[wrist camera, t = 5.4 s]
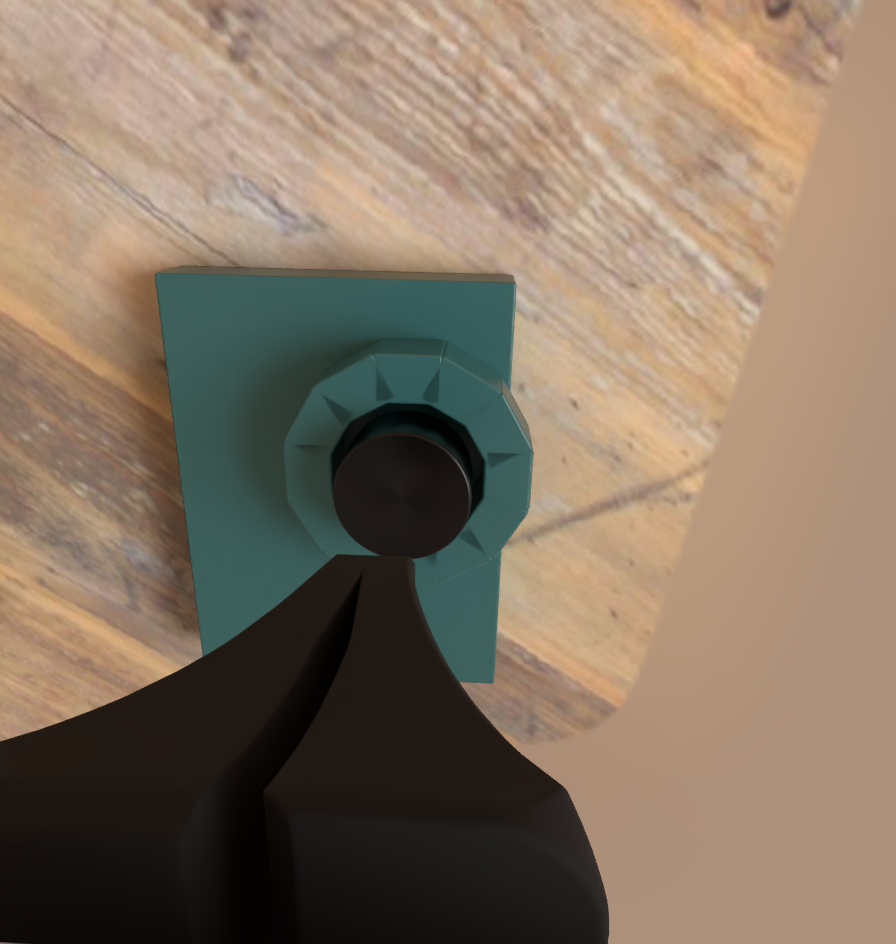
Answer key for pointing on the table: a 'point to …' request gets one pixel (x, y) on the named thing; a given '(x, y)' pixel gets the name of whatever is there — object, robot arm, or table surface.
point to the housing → (337, 430)
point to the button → (404, 485)
